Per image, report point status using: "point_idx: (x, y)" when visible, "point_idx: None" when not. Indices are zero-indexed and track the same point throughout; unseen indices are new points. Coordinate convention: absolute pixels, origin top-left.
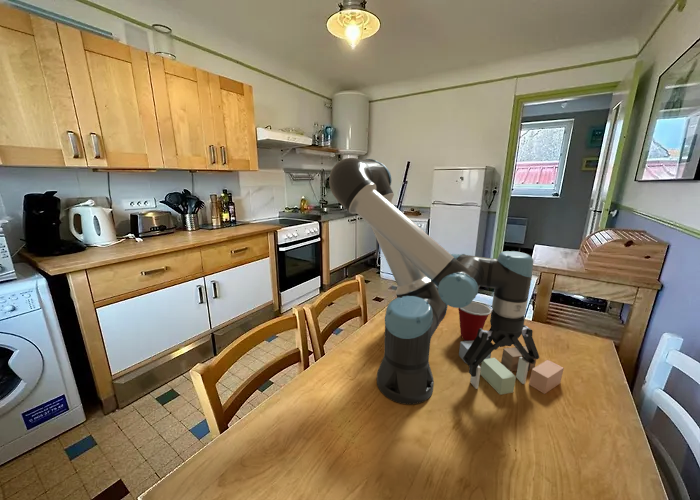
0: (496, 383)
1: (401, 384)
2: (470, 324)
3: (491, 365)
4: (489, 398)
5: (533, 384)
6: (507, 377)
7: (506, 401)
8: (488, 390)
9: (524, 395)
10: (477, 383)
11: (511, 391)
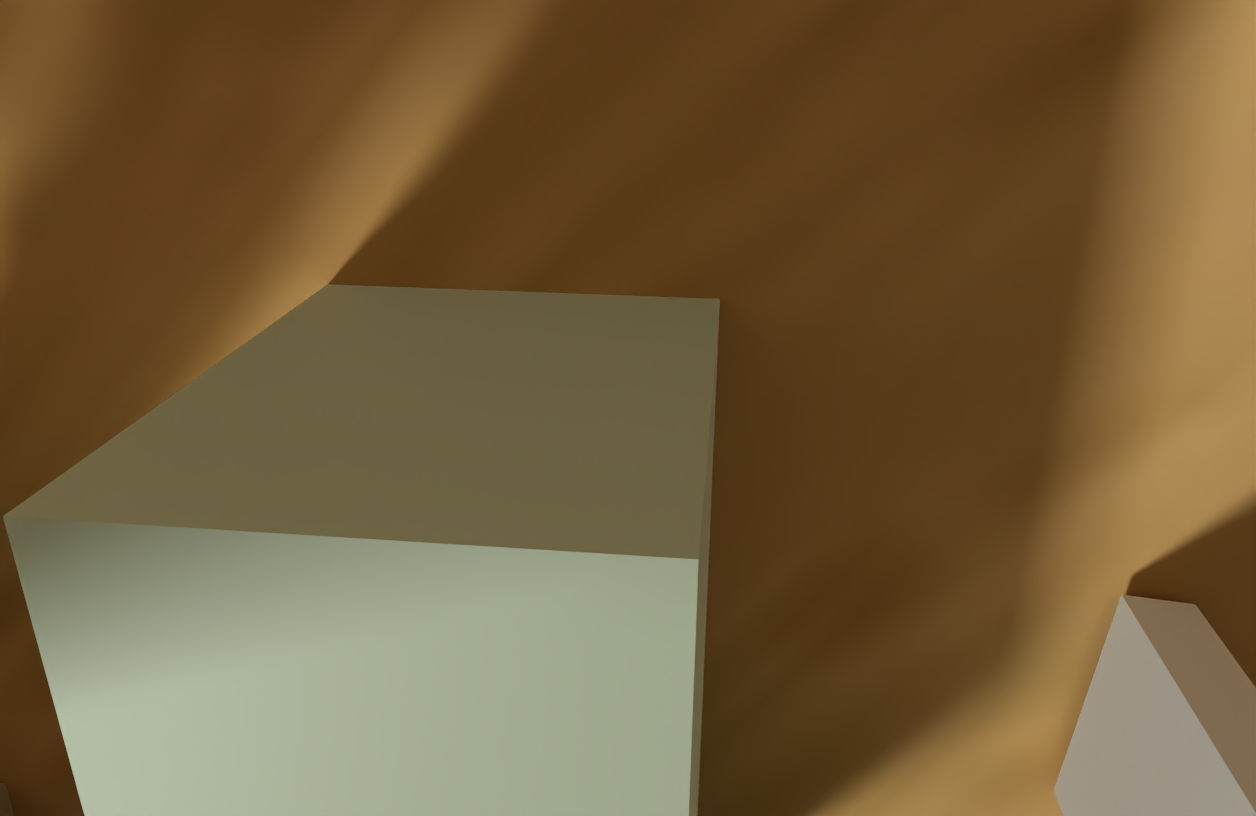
0: (705, 559)
1: None
2: None
3: None
4: (1105, 258)
5: None
6: (415, 570)
7: (732, 50)
8: (897, 487)
9: (112, 124)
10: (1233, 704)
11: (372, 297)
